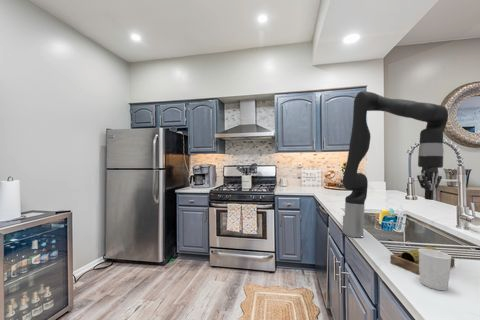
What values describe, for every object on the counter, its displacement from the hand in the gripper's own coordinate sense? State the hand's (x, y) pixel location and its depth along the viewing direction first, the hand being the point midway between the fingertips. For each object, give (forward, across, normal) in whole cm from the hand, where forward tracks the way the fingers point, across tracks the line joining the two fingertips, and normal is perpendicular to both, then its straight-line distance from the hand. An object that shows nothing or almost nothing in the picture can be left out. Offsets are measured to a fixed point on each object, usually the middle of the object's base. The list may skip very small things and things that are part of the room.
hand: (428, 199), depth 89 cm
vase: (+22, -3, 0) cm, 22 cm away
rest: (+25, +3, 0) cm, 25 cm away
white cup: (+25, +17, +10) cm, 32 cm away
